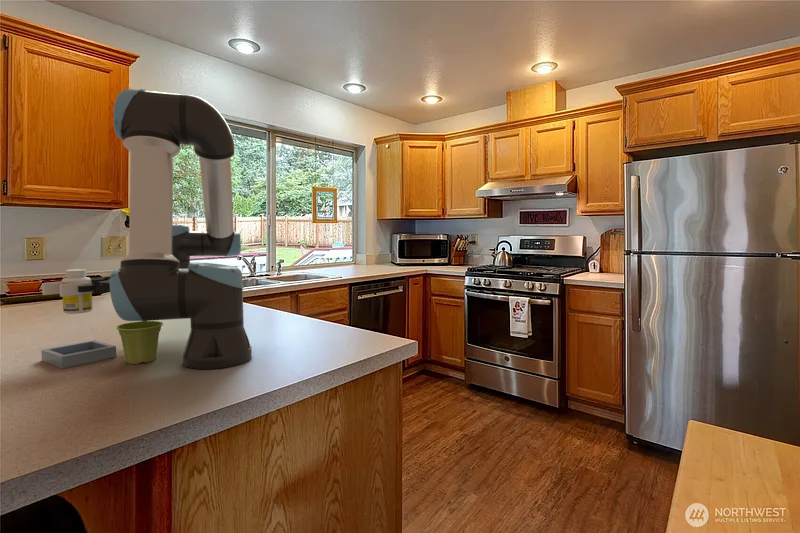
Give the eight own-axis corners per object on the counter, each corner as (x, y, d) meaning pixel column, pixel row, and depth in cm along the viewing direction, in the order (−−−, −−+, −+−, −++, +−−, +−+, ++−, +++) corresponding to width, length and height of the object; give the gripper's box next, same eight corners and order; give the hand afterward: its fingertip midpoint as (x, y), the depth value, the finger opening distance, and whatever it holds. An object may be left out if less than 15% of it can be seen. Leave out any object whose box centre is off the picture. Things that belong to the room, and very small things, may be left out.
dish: (116, 356, 102) (116, 346, 102) (62, 368, 92) (61, 357, 92) (95, 350, 107) (94, 340, 107) (41, 360, 98) (41, 349, 98)
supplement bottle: (90, 309, 103) (89, 268, 102) (94, 312, 99) (92, 270, 98) (62, 312, 99) (59, 269, 99) (64, 315, 95) (62, 271, 95)
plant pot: (172, 355, 103) (171, 321, 102) (145, 367, 94) (144, 329, 93) (137, 354, 104) (136, 320, 103) (107, 365, 95) (106, 328, 94)
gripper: (171, 295, 113) (79, 309, 91) (123, 291, 119) (27, 303, 98) (170, 267, 112) (78, 275, 90) (122, 265, 119) (25, 271, 97)
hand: (52, 289), depth 94 cm, fingers closed on supplement bottle, 5 cm apart
